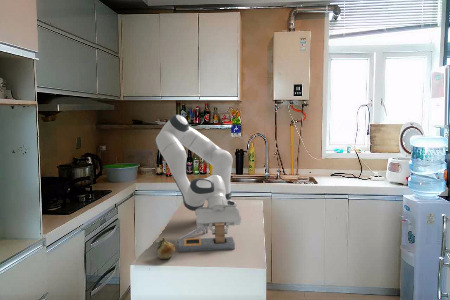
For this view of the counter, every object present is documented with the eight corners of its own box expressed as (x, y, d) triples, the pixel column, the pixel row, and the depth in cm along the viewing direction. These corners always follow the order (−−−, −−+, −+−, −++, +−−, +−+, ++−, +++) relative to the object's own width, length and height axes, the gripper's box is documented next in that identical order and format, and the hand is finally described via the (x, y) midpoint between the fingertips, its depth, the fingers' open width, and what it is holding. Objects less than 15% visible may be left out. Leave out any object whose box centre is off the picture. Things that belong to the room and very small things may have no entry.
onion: (156, 262, 149) (155, 242, 149) (156, 255, 157) (156, 236, 157) (175, 261, 151) (175, 241, 150) (174, 254, 159) (174, 235, 158)
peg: (215, 245, 169) (214, 223, 168) (224, 244, 169) (223, 222, 168) (215, 248, 165) (215, 225, 164) (224, 247, 165) (224, 225, 164)
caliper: (206, 232, 189) (206, 220, 188) (208, 233, 188) (208, 220, 187) (174, 243, 174) (174, 229, 173) (176, 243, 173) (176, 230, 172)
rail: (179, 245, 170) (179, 238, 170) (232, 242, 172) (232, 236, 172) (178, 251, 161) (178, 245, 161) (234, 249, 163) (234, 242, 163)
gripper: (195, 204, 172) (196, 231, 163) (239, 202, 173) (243, 229, 165) (195, 211, 176) (196, 238, 167) (238, 209, 178) (242, 235, 169)
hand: (219, 233), depth 166 cm, fingers closed on peg, 4 cm apart
